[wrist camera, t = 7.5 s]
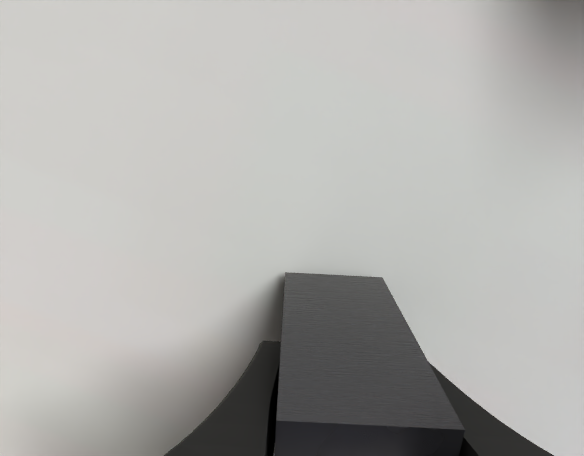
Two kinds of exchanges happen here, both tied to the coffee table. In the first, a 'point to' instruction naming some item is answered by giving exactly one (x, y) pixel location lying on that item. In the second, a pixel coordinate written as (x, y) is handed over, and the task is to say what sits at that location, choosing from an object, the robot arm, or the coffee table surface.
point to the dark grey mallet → (356, 375)
